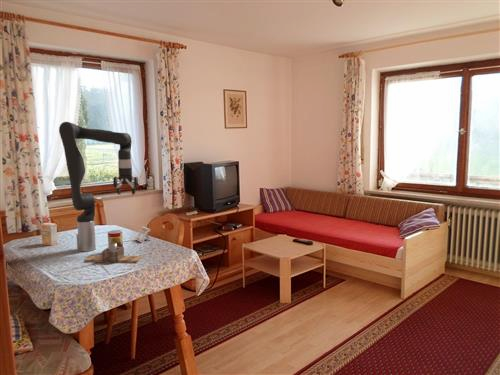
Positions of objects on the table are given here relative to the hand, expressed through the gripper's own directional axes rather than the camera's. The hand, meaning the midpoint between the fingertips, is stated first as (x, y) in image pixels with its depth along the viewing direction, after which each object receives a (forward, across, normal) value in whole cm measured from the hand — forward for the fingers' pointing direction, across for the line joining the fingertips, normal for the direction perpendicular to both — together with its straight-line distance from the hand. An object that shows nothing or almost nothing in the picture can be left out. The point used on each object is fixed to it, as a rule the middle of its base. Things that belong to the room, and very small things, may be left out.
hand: (126, 194), depth 231 cm
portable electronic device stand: (+32, +4, +14) cm, 35 cm away
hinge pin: (+32, +2, -26) cm, 41 cm away
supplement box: (+32, -51, +2) cm, 61 cm away
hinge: (+32, +2, -26) cm, 41 cm away
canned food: (+32, -3, -11) cm, 34 cm away
